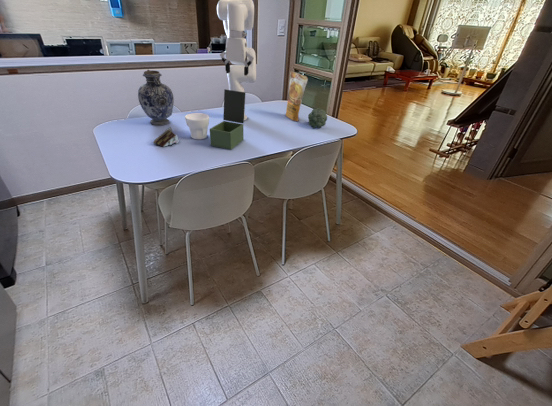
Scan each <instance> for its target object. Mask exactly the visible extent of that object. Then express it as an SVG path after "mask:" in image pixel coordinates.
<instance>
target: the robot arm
mask: <svg viewBox="0 0 552 406" xmlns="http://www.w3.org/2000/svg"><path fill="white" fill-rule="evenodd" d="M254 3H255V2H254V1H253V0H218V2H217V5H216V14H217V17H218V19H219V20H220V21H222V23H223V28H224V32H225V35H226V41H225V51H222V52H221V53H219V56H220V58H221V61H222V62H223V64H224V66H225V68H224V69H225V73H226V76H227V82H228V90H233V91H239V92H245V88H244V86H243V85H242V83H243V84H245V83H246V84H253V83H256V81H257V56H256V55H257V54H256V51H255V49H254V48H253V47H248V43H247V38H245V37H247V36H248V33H247V32H246V31H251V30H253V28H254V22H255V4H254ZM230 63H231V64H230ZM245 93H246V92H245ZM245 113H246V108H245V109H244V121H246V120H247V119H248V115H246V114H245Z"/></svg>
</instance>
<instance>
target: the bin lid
mask: <svg viewBox="0 0 552 406" xmlns="http://www.w3.org/2000/svg"><path fill="white" fill-rule="evenodd" d="M223 91H224V92H223V117H222V118H223V121H227V122H233V123H238V124H245V120H244V109H245V110H246V108H245V107H246V92H239V91H233V90H229V89H224V90H223Z"/></svg>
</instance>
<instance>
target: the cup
mask: <svg viewBox="0 0 552 406" xmlns="http://www.w3.org/2000/svg"><path fill="white" fill-rule="evenodd" d="M184 120H185V124H186V126H187V127H188V130H189V132H190V137H191V139H193V140H204V139H207V137H208V128H209V124H210V114H209V115H208V114H207V113H202V112H194V113H193V112H192V113H188V114H186V115H185V116H184Z"/></svg>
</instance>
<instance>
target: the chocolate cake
mask: <svg viewBox="0 0 552 406" xmlns="http://www.w3.org/2000/svg"><path fill="white" fill-rule="evenodd" d="M179 141H180V140H179V137H178V135H177V134H176V133H175V132H174V131H173V129H172V127H171V126H169V127H168V128H167V129H165V130H164V131H163V132H162V133H161V134H160V135H158V136H157V137H156V138H155V139H153V143H152V144H153V145H155V146H157V145H158V146H161V147H163V148H164V147H167V146H170V147H172V146H173V144H176V145H177V144H178V143H179Z"/></svg>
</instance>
